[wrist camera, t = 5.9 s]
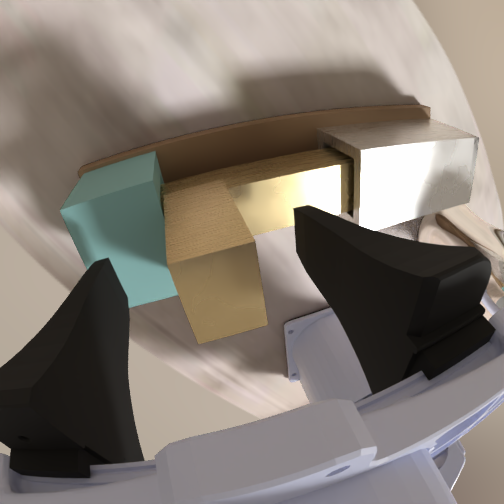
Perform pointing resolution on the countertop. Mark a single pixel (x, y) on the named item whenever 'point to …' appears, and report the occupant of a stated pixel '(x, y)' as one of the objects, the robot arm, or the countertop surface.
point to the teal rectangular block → (123, 225)
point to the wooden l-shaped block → (241, 231)
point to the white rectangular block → (404, 168)
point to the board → (254, 140)
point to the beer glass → (474, 235)
